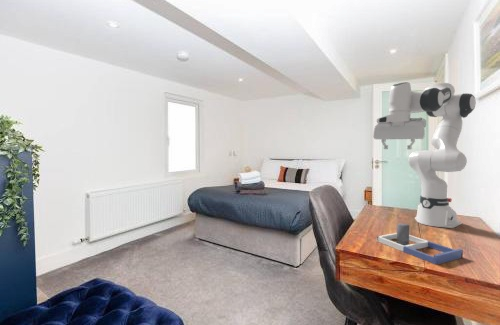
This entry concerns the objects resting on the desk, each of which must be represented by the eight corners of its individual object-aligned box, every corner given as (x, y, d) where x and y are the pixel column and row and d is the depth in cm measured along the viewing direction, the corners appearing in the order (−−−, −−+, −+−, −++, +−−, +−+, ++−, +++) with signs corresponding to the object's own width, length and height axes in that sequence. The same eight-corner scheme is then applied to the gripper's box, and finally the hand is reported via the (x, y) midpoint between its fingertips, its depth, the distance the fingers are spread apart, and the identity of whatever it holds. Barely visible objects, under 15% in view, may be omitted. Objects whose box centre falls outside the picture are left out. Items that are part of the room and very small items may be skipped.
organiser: (400, 236, 115) (401, 229, 114) (462, 257, 92) (462, 249, 92) (376, 241, 109) (376, 234, 109) (436, 264, 87) (436, 256, 86)
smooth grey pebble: (401, 241, 109) (401, 222, 108) (411, 244, 105) (412, 225, 104) (394, 242, 107) (394, 223, 107) (403, 246, 103) (404, 226, 103)
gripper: (427, 118, 111) (425, 149, 112) (376, 120, 124) (375, 149, 125) (425, 116, 106) (424, 149, 107) (373, 119, 119) (371, 148, 120)
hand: (397, 149), depth 116 cm, fingers open, 8 cm apart
